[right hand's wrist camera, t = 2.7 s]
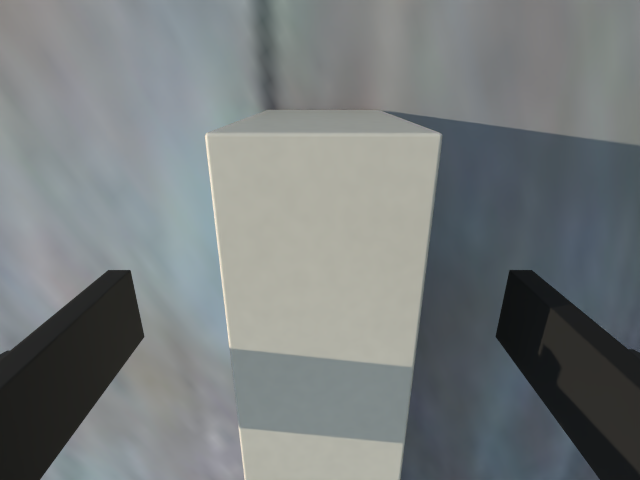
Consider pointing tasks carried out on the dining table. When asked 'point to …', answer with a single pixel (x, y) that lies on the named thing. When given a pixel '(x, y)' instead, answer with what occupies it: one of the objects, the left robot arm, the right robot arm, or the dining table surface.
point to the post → (323, 284)
